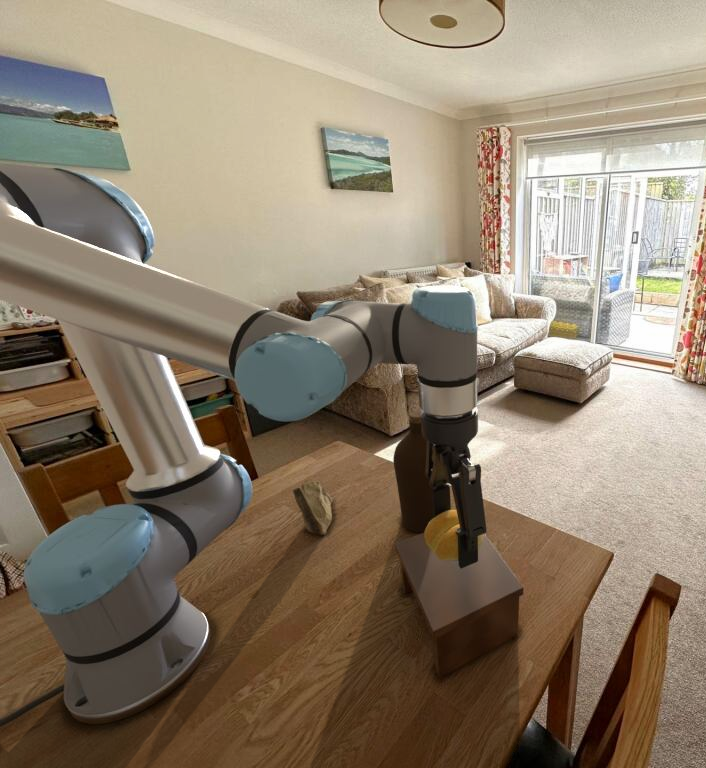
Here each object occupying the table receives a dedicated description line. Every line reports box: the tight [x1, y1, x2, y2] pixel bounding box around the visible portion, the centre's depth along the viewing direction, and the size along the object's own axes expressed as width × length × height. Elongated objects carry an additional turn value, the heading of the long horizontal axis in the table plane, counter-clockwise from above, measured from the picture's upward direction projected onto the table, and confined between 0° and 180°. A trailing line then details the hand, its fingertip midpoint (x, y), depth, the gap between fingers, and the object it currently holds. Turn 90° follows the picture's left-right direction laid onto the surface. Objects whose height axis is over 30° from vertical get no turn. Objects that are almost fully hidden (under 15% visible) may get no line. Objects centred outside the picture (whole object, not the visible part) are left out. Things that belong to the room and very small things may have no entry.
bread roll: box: [423, 509, 483, 562], centre depth 61 cm, size 8×9×4 cm
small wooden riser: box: [394, 532, 524, 679], centre depth 65 cm, size 14×18×10 cm
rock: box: [292, 480, 333, 536], centre depth 86 cm, size 11×9×10 cm
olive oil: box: [392, 410, 448, 533], centre depth 83 cm, size 11×11×25 cm
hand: (454, 541), depth 61 cm, fingers closed on bread roll, 9 cm apart
